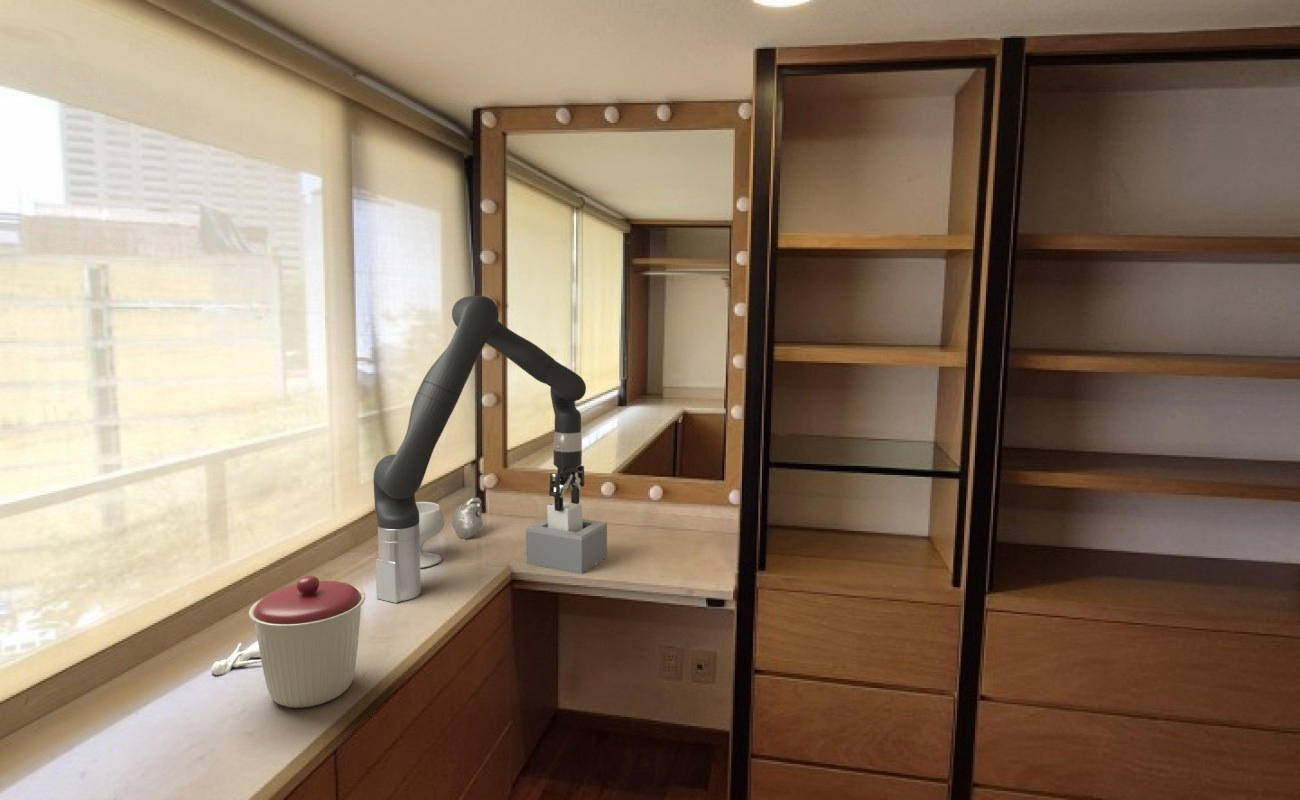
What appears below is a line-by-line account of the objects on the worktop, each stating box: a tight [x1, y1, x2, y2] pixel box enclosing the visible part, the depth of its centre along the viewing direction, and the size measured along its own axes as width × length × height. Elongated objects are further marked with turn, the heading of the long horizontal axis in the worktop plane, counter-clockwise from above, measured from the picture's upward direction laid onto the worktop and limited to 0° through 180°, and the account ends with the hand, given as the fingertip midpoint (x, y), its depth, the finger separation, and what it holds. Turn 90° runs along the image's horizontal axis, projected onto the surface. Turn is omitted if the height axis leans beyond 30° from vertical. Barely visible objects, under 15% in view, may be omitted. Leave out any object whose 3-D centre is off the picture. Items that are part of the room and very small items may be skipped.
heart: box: [451, 497, 483, 540], centre depth 212 cm, size 10×10×12 cm
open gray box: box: [525, 517, 608, 575], centre depth 192 cm, size 14×17×10 cm
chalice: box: [415, 501, 445, 569], centre depth 189 cm, size 14×14×15 cm
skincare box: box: [546, 500, 583, 532], centre depth 192 cm, size 8×6×15 cm
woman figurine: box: [210, 640, 262, 676], centre depth 137 cm, size 12×4×18 cm
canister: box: [248, 575, 366, 709], centre depth 123 cm, size 18×18×21 cm
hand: (567, 507), depth 191 cm, fingers open, 8 cm apart
